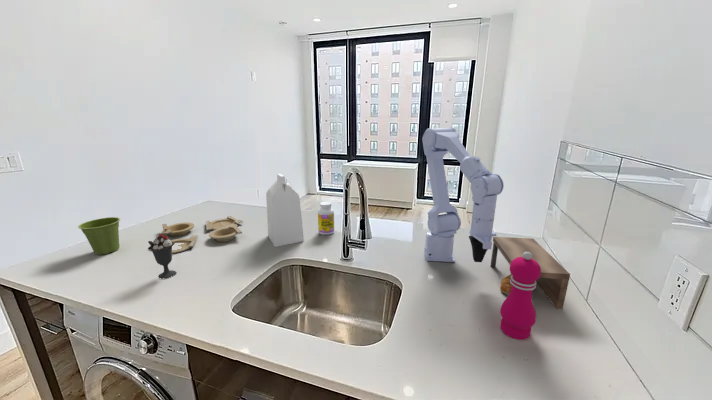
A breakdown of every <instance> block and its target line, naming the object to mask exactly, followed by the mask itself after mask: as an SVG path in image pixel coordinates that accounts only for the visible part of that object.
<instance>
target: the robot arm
mask: <svg viewBox="0 0 712 400" xmlns="http://www.w3.org/2000/svg"><path fill="white" fill-rule="evenodd" d="M421 139H422V147H423V152H424V156H426V162H427V163H426V164H427V169H428V176H429V182H430V188H431V189H430V190H431V194H432V195H431V196H432V202H433V207H431V208H430V210H428V212H427V229H428V230H429V231H427V232H426V233H425V239H424V241H425V242H424V243H425V244H424V254H425V260H426V261H427V262H429V261H430V262H443V263H446V262H447V263H456V258H455V257H454V256H455V255H454V242H455V235H456V234H457V231H459V230H460V228H461V225H462V221H461V217H460V215H459V213H458V208H456V207H455V206H454V205H452V204H451V203H450V196H449V190H448V184H447V182H448V181H447V177H446V171H445V163H444V157H445V156H446V155H447V154H448V153H450V154H451V155H452V156H453V157H454V158H455V159H456V160H457V162H459V163H460V165H459V170H460V172H461V173H462V174H463V175H464V176H465V178H466V179H467V181H468V182H469V183H470V186H469V187H470V190H471V194H472V197H471V199H472V202H473V205H472V206H473V207H472V215H471V223H470V229H469V235H468V239H469V241H470V244H471V252H472V258H473V262H475V263H482V262H483V260H484V258H485V255H486V253H487V251H488V250H492V248H493V237H497V232H496V231H493V229H494V220H495V215H496V214H495V213H496V208H497V200H498V196H499V195H501V194H502V192H503V190H504V181H503V178H502V177H501V176H500V174H498V173H493V172H491V171H490V170H489V169H488V168H487V167H486V166H485V164H484V163H483V162H482V161H481V159H480V157H479V156H475V155H471V154H470V153H469V152H468V151H467V149H466V148H465V146H464V145H463V143H462V141H461V140H460V133H459V132H458V131H457V129H456V128H455V127H451V126H450V127H440V128H439V127H437V128H435V127H434V128H432V127H429V128H426V130H425V131H424V133H423V135H422V138H421Z"/></svg>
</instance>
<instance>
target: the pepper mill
mask: <svg viewBox="0 0 712 400" xmlns="http://www.w3.org/2000/svg"><path fill="white" fill-rule="evenodd" d="M509 272H510V274H512V275H511V280H510V283H511V284H512V288H511V291H510V293H509V295H508V294H507V297H506V298H505V299H504V300H503V302H502V303H501V306H500V308H499V314H500V317H501V320H500V325H499V327H500V330H501V332H502V333H503V334H505V335H506V336H507V337H509V338H511V339H514V340H518V341H524V340H525V341H526V340H528V338H530V337H531V333H532V327H533V326H534V325H535V324H536V319H537V314H536V313H537V312H536V309H535V306H534V303H533V291H534V290H535V289H536V287H537V283H536V280H537V279H539V277H540V275H541V267H540V265H539V264H538V263H537V262H536V261H535V260H533V259H532V254H531V253H530V252H524V253H523V257H517V258H515V259H513V260H512V262H511V264H510V265H509Z"/></svg>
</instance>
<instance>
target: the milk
mask: <svg viewBox="0 0 712 400" xmlns="http://www.w3.org/2000/svg"><path fill="white" fill-rule="evenodd" d="M276 175H277V176H276V181H275V182H274V183H273V184H272V185H271V186H270V187H269V188H268V190H267V191H266V196H265V198H266V199H265V200H266V218H267V236H268V238H269V239H270V241H271V244H273V247H280V246H285V245H290V244H291V245H292V244H296V243H300V242H304V241H305V236H304V227H303V217H302V207H301V198H300V195H299V193H298V192H296V190H294V186H293V185H292V184H291V183H290V182H286V181H287V180H286V177H285V175H284V174H282V173H276Z"/></svg>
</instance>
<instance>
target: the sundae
mask: <svg viewBox="0 0 712 400" xmlns="http://www.w3.org/2000/svg"><path fill="white" fill-rule="evenodd" d="M165 230H167V229H165ZM165 230H164V231H165ZM165 232H166V231H165ZM147 243H148V244H149V246H148V247H147V249H148V250H150V251H151V253H152V254H153V257H154V259H155V261H156V263H157V264H158V265H160V266H162V267H163V272H161V273H159V274H158V275H157V277H159V278H158V279H160V278H161V279H160V280H164V279H163V278H166V279H170V278H172V277H174V276H175V275H177V271H176V270H174V269H171V270H170V269H169V264H170V263H171V262H172V260H173V254H172V246H173V245H174V243H173V242H172V241H171V239H169V236H167V235H166V234H165V233H164V234H163V233H161V234H159V235H158V236H156V237H155V239H154V240H153V241H152V240H148V241H147ZM173 275H174V276H173ZM171 276H172V277H171ZM169 277H170V278H169Z"/></svg>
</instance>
